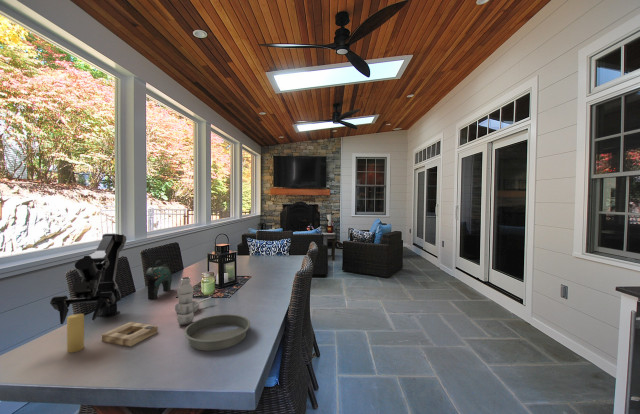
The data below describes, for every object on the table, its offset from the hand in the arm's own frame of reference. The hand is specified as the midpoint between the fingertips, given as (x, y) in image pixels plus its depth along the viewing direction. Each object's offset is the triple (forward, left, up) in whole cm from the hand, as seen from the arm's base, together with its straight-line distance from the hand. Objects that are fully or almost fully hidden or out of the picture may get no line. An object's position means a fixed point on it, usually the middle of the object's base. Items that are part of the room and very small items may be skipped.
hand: (77, 322), depth 102 cm
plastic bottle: (+23, +28, -9) cm, 37 cm away
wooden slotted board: (+11, +12, -9) cm, 19 cm away
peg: (+1, -1, -9) cm, 9 cm away
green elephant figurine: (-20, +56, -10) cm, 60 cm away
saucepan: (+15, +43, -10) cm, 46 cm away
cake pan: (+44, +22, -10) cm, 50 cm away
